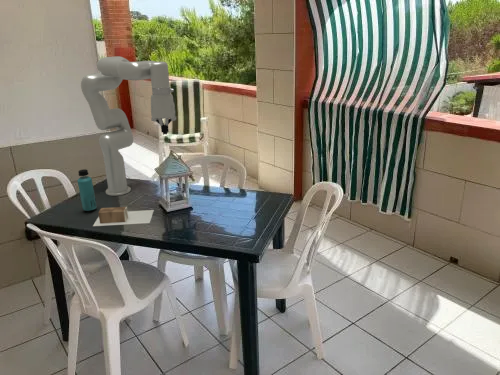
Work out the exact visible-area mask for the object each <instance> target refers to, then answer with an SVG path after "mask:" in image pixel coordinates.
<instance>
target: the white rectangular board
mask: <svg viewBox="0 0 500 375" xmlns="http://www.w3.org/2000/svg"><path fill="white" fill-rule="evenodd" d="M154 211H155V210H154V209H151V210H150V209H148V210H147V209H146V210H145V209H144V210H127V212H128V219H127V221H126V222H115V223H100V220H99V216H98V217H97V218H96V220H95V222H94V224H93V225H92V227H103V226H104V227H105V226H120V225H121V226H122V225H123V226H125V225H139V224H141V225H142V224H150V223H151V220H152V217H153V214H154Z"/></svg>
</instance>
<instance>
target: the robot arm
mask: <svg viewBox="0 0 500 375" xmlns="http://www.w3.org/2000/svg"><path fill="white" fill-rule="evenodd" d="M96 63H97V64H96V69H97V71H98V72H97V73H89V74H87V75H84V76H83V77H82V79H81V81H80V89H81V92H82V94H83V97H84V98H85V100H86V102H87V104H88V106H89V108H90V112H91V115H92V117H93V120H94V123H95V126H96V127H97V129H99V130H101V131H108V130H111V129H116V130H112V131H108V132H104V133H103V134H101V135H100V136H99V139H98V144H99V147H100V150H101V152H102V156H103V162H104V163H103V164H104V168H105V175H106V176H105V177H106V182H107V188H106V190H105V194H106V195H107V196H113V197H115V196H116V197H117V196H124V195H126V194H129V193H130V192H131V190H132V189H131V187H130V186H128V181H127V175H126V166H125V161H124V160H125V159H124V156H123V154H122V153H121V152H120V151H119V150H121V149H125V148H128V147H130V146H132V145H133V143H134V135H133V132H132V129H131V126H130V123H129V119H128V117H127V115H126V112H124V111H123V109H121V108H110V106H109V104H108V101H107V99H106V98H105V97H104V96H103V95H102V94H101V93H100V92H105V91H113V90H116V89H117V88H118V87H119V86H120V85H121V83H122V82H123V80H127V81H143V80H150V83H151V93H152V94H151V95H150V115H151V122H155V123H157V124H158V125H159V126H160V128H161V129H160V130H161V133H162V135H168V133H170V132H169V124H170V123H171V122H174V121H177V117H176V106H175V99H174V96H173V94H172V93H174V91H175V90H174V88H171V85H170V76H169V74H170V73H169V65H168V63H167V62H166V61H155V60H143V61H141V60H140V61H139V60H138V61H130V60H128V59H127V58H125V57H123V56H120V55H119V56H105V57H102V58H99V60H98V61H97V62H96ZM164 120H165V122H164Z"/></svg>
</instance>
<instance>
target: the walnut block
mask: <svg viewBox="0 0 500 375" xmlns="http://www.w3.org/2000/svg"><path fill="white" fill-rule="evenodd" d="M127 211H128V206H118V207H100V209H99V211H98V213H97V214H98V217H99V220H100V223H115V222H126V221H127V219H128V212H127Z"/></svg>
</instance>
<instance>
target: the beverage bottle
mask: <svg viewBox="0 0 500 375" xmlns="http://www.w3.org/2000/svg"><path fill="white" fill-rule="evenodd" d="M88 171H89V170H88V169H86V168H85V169H80V170H78V176H79V178H78V179H77V185H78V186H77V187H78V192H79V197H80V203H81V208H82V210H83V211H88V212H89V211H93V210H96V209H97V200H96V197H95V189H94V183H93V178H92V177H91V176H88V175H89V172H88Z"/></svg>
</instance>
